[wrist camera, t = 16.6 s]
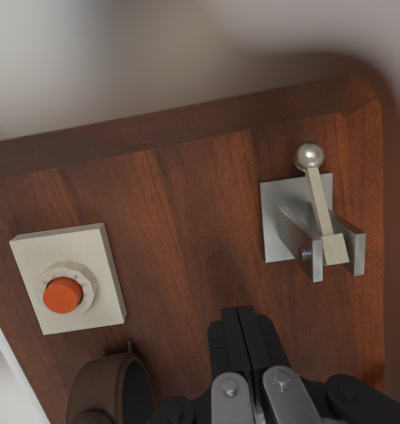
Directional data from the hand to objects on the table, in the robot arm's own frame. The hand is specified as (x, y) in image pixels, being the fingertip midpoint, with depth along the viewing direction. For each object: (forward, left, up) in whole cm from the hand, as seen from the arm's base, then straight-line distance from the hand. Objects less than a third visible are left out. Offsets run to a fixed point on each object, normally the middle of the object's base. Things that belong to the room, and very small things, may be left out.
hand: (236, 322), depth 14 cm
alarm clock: (+25, -15, -25) cm, 38 cm away
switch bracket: (+5, +11, -25) cm, 28 cm away
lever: (+1, +11, -18) cm, 22 cm away
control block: (+9, -19, -25) cm, 32 cm away
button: (+9, -19, -21) cm, 29 cm away
